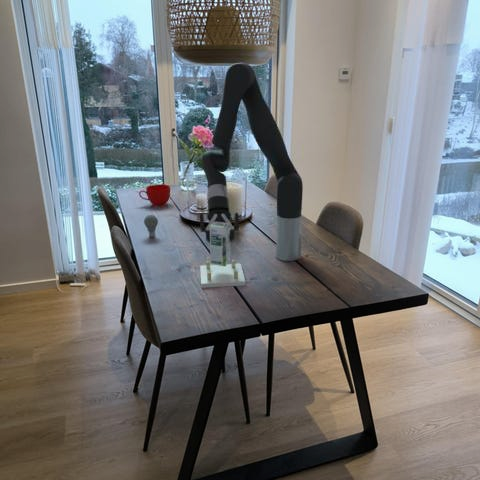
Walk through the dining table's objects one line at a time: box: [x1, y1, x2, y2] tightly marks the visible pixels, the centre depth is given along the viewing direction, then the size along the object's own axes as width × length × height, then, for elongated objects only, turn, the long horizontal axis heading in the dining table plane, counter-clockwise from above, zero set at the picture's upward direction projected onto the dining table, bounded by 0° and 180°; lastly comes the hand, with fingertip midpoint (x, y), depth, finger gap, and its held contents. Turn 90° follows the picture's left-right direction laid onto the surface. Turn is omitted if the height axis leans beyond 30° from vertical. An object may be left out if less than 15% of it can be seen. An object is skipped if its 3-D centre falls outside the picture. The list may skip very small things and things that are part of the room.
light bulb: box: [143, 214, 159, 238], centre depth 193 cm, size 6×6×10 cm
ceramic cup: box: [138, 183, 171, 207], centre depth 239 cm, size 13×17×10 cm
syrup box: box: [209, 222, 231, 267], centre depth 152 cm, size 6×6×14 cm
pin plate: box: [199, 259, 246, 289], centre depth 155 cm, size 15×15×4 cm
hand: (220, 241), depth 151 cm, fingers closed on syrup box, 7 cm apart
